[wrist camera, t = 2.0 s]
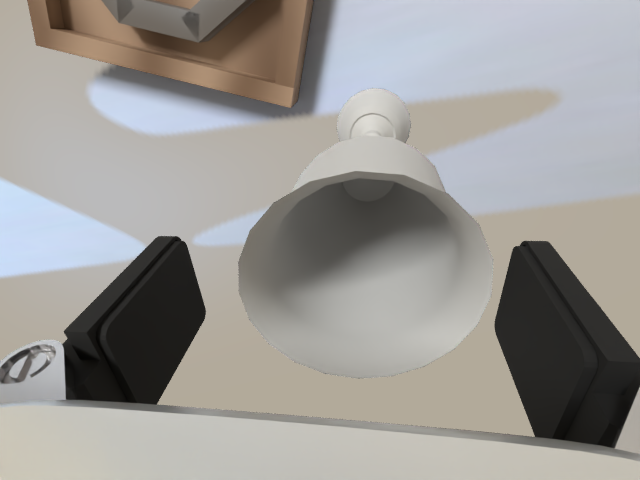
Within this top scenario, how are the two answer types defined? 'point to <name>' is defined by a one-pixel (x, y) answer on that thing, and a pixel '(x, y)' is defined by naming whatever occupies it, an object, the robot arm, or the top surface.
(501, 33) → the top surface
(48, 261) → the top surface
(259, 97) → the holder tray
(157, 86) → the top surface
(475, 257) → the chalice
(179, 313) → the robot arm
